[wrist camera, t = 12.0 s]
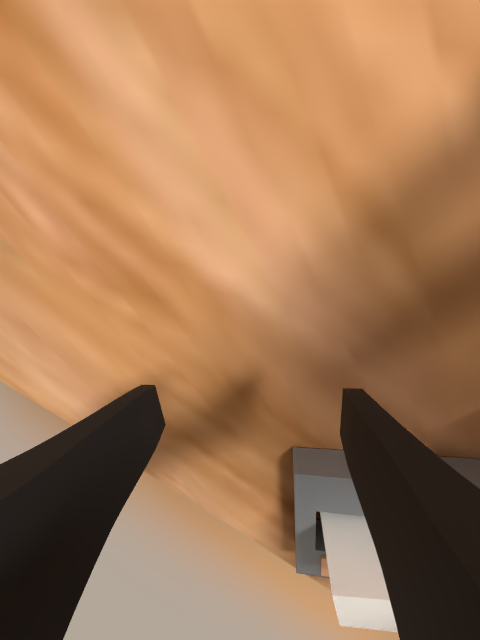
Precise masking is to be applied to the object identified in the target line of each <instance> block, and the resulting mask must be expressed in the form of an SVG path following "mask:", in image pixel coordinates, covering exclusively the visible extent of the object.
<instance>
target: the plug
mask: <svg viewBox="0 0 480 640" xmlns="http://www.w3.org/2000/svg"><path fill="white" fill-rule="evenodd" d="M320 515H321V522H322V529H323V536H324V543H325V550H326V556H327V563H328V570H329V577H330V584H331V591H332V596H333V601H334V604H335V609H336V613H337V617H338V620H339V624H340V626H348V627H357V628H366V629H374V630H383V631H392V632H398V630H397V626H396V622H395V618H394V614H393V610H392V607H391V603H390V599H389V595H388V591H387V587H386V584H385V580H384V576H383V572H382V568H381V565H380V562H379V559H378V555H377V552H376V549H375V546H374V543H373V540H372V537H371V534H370V531H369V528H368V525H367V522H366V519H365V517H363V516H354V515H345V514H336V513H327V512H320Z"/></svg>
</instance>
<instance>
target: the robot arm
mask: <svg viewBox="0 0 480 640" xmlns="http://www.w3.org/2000/svg"><path fill="white" fill-rule="evenodd" d="M164 427H165V421H164V417H163V414H162V410H161V406H160V402H159V399H158V395H157V391H156V387H155V385H140V386H138V387H136V388H135V389H133V390H131V391H129V392H128V393H126V394H124V395H122V396H121V397H119V398H118V399H116V400H114V401H113V402H111V403H109V404H108V405H106V406H104V407H103V408H101V409H100V410H98V411H96V412H95V413H93V414H91V415H90V416H88V417H87V418H85V419H83V420H81V421H80V422H78V423H76V424H75V425H73V426H71V427H69V428H68V429H66V430H64V431H62V432H61V433H59V434H57V435H55V436H54V437H52V438H50V439H48V440H47V441H45V442H43V443H41V444H39V445H37V446H35V447H34V448H32V449H30V450H28V451H26V452H24V453H22V454H20V455H18V456H16V457H14V458H12V459H10V460H8V461H6V462H4V463H2V464H0V640H63V638H64V635H65V633H66V631H67V628H68V626H69V623H70V621H71V619H72V616H73V614H74V611H75V609H76V607H77V604H78V602H79V600H80V597H81V595H82V593H83V591H84V588H85V586H86V584H87V581H88V579H89V577H90V575H91V572H92V570H93V568H94V565H95V563H96V561H97V559H98V557H99V555H100V552H101V550H102V548H103V546H104V544H105V542H106V540H107V537H108V535H109V533H110V531H111V529H112V527H113V525H114V523H115V521H116V519H117V517H118V516H119V514H120V512H121V510H122V508H123V506H124V505H125V503H126V501H127V499H128V498H129V496H130V494H131V492H132V491H133V489H134V487H135V485H136V483H137V482H138V480H139V478H140V476H141V475H142V473H143V471H144V469H145V467H146V466H147V464H148V462H149V460H150V458H151V457H152V455H153V453H154V451H155V449H156V447H157V444H158V442H159V440H160V437H161V435H162V432H163V430H164ZM340 436H341V440H342V445H343V449H344V454H345V458H346V462H347V466H348V469H349V472H350V475H351V478H352V481H353V484H354V487H355V490H356V493H357V496H358V499H359V502H360V505H361V507H362V510H363V513H364V516H365V519H366V522H367V525H368V528H369V531H370V534H371V537H372V540H373V543H374V546H375V549H376V552H377V555H378V559H379V562H380V565H381V568H382V572H383V576H384V580H385V584H386V587H387V591H388V595H389V599H390V603H391V607H392V610H393V614H394V618H395V622H396V626H397V630H398V634H399V638H400V640H480V489H479V488H478V487H477V486H475V485H474V484H473V483H471V482H470V481H469V480H467V479H466V478H465V477H464V476H462V475H461V474H460V473H458V472H457V471H456V470H455V469H453V468H452V467H451V466H450V465H448V464H447V463H446V462H445V461H443V460H442V459H441V458H440V457H438V456H437V455H436V454H435V453H433V452H432V451H431V450H430V449H428V448H427V447H426V446H425V445H424V444H423V443H421V442H420V441H419V440H418V439H417V438H415V437H414V436H413V435H412V434H411V433H410V432H409V431H407V430H406V429H405V428H404V427H403V426H402V425H401V424H399V423H398V422H397V421H396V420H395V419H394V418H393V417H392V416H391V415H390V414H388V413H387V412H386V411H385V410H384V409H383V408H382V407H381V406H380V405H379V404H378V403H377V402H376V401H374V400H373V399H372V398H371V397H370V396H369V395H368V394H367V393H366V392H365V391H364V390H363V389H346V388H343V396H342V411H341V427H340Z"/></svg>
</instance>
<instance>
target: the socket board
mask: <svg viewBox="0 0 480 640" xmlns="http://www.w3.org/2000/svg"><path fill="white" fill-rule="evenodd" d="M438 457H440V458H441V459H442V460H443V461H445V462H446V463H447V464H448V465H450V466H451V467H452V468H453V469H455V470H456V471H457V472H458V473H460V474H461V475H462V476H464V477H465V478H466V479H467V480H469V481H470V482H471V483H473V484H474V485H475V486H477V487H478V488H479V489H480V459H473V458H457V457H441V456H438ZM293 484H294V521H295V551H296V571H297V573H301V574H306V575H313V576H319V577H325V578H330V577H329V570H328V563H327V556H326V550H325V543H324V536H323V529H322V522H321V520H316V511H318V512H327V513H336V514H345V515H354V516H363V517H365V516H364V513H363V510H362V507H361V505H360V502H359V499H358V496H357V493H356V490H355V487H354V484H353V481H352V478H351V475H350V472H349V469H348V466H347V462H346V458H345V454H344V450H331V449H315V448H299V447H293Z"/></svg>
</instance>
